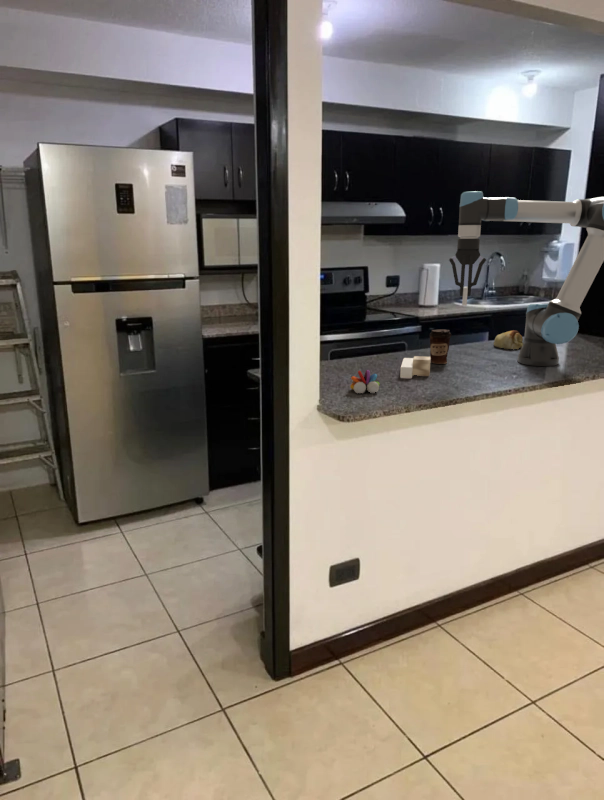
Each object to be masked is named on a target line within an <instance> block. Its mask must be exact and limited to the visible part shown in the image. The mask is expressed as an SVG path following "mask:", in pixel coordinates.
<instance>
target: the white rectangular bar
mask: <svg viewBox="0 0 604 800" xmlns="http://www.w3.org/2000/svg"><path fill="white" fill-rule="evenodd" d="M413 358H414V357H403V359H402V362H401V366H400V374H399V376H400V377H399V378H400V379H412V378H413V375H412V374H413Z"/></svg>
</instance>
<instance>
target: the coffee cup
mask: <svg viewBox="0 0 604 800" xmlns="http://www.w3.org/2000/svg"><path fill="white" fill-rule="evenodd" d="M451 337H452V333H451V332H450V329H442V328H441V329H431V332H430V333H429V347H430V348H429V349H430V351H429V357H431V358H430V364H437V365H442V364H445V365H446V364H447V363H448V353H449V349H450V340H451Z"/></svg>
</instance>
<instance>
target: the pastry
mask: <svg viewBox="0 0 604 800" xmlns="http://www.w3.org/2000/svg"><path fill="white" fill-rule="evenodd" d="M523 339H524V337H523V336H522V335H521V334H520V332H519V331H518V330H516V329H515V330H514V329H513V330H508V331H506V332H502V333H500V334H497V335H496V336H495V338H494V341H493V346H494V347H496V348H498V349H501V348H504V349H503V350H508V349H513V350H512V351H515V350H514V349H517V350H520V349H521V348H522V345H523V343H524V340H523ZM519 348H520V349H519Z"/></svg>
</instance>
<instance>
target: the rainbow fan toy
mask: <svg viewBox="0 0 604 800" xmlns="http://www.w3.org/2000/svg"><path fill="white" fill-rule="evenodd" d="M357 374H358V376H359V377H357V376H354V375H353V376H351V377H350V378H351V380H352V381H351V384H350V385H349V386H350V389H351V390H354V393H356V394H358V393H362V394H364V393H365V392H366V391H367V392H370V393H369V394H376V393H378V391H379V390H380V389H379V388H380V385H381V384H380V382H379V381H378V380H377V378H378V374H377V373H373V374H371V371H370V369H366V370H365V372H364V375H363V373H362V371H361V370H358V371H357ZM376 380H377V381H376ZM366 388H367V389H366ZM375 392H376V393H375Z"/></svg>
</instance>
